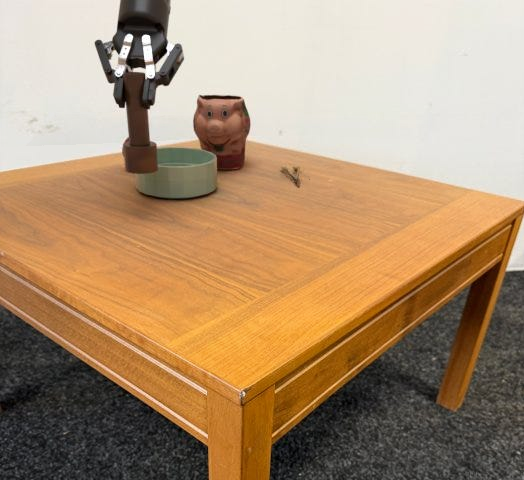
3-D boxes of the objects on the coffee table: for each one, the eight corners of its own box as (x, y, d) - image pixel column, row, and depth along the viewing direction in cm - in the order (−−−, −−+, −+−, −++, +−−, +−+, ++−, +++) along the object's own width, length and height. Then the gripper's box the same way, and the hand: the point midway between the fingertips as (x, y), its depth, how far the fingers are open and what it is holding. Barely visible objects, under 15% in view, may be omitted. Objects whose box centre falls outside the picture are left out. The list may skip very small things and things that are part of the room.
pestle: (124, 173, 86) (114, 74, 78) (126, 165, 90) (117, 70, 83) (157, 174, 87) (151, 75, 79) (158, 165, 91) (152, 71, 83)
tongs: (292, 187, 108) (293, 177, 107) (279, 173, 119) (279, 163, 118) (313, 187, 109) (314, 177, 108) (298, 172, 120) (298, 163, 119)
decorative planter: (197, 152, 130) (195, 87, 122) (248, 153, 131) (249, 89, 123) (192, 175, 113) (189, 102, 106) (251, 176, 114) (252, 103, 106)
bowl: (133, 201, 97) (130, 167, 94) (138, 177, 110) (136, 146, 107) (219, 200, 99) (219, 167, 96) (214, 177, 112) (214, 147, 109)
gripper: (92, -16, 82) (77, 85, 78) (187, -11, 81) (176, 90, 78) (106, 25, 89) (93, 119, 85) (193, 28, 89) (184, 123, 85)
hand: (133, 104), depth 81 cm, fingers closed on pestle, 3 cm apart
